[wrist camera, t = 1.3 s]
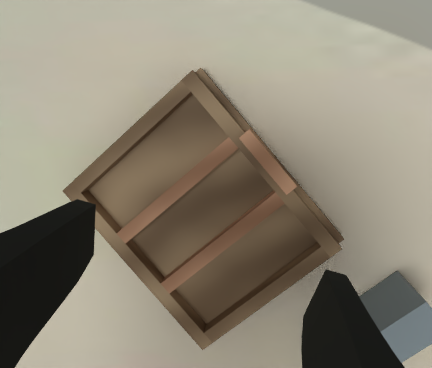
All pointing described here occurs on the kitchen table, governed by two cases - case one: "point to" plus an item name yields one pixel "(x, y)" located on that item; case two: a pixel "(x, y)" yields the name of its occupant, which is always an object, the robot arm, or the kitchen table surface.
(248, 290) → the rack
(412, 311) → the blue-gray rectangular block
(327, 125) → the kitchen table surface
